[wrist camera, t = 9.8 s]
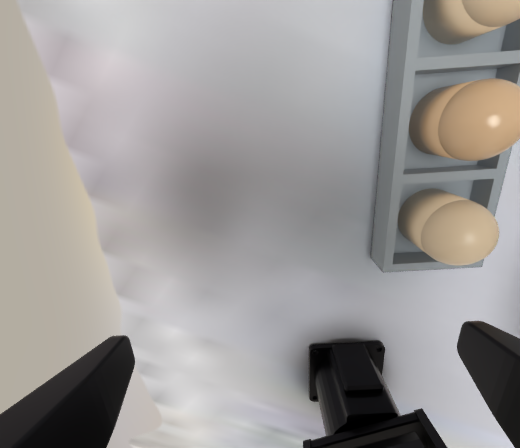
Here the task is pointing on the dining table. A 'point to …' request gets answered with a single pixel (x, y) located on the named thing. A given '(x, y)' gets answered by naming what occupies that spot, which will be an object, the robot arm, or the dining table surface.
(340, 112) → the dining table surface
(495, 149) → the egg
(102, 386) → the robot arm
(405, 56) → the carton
